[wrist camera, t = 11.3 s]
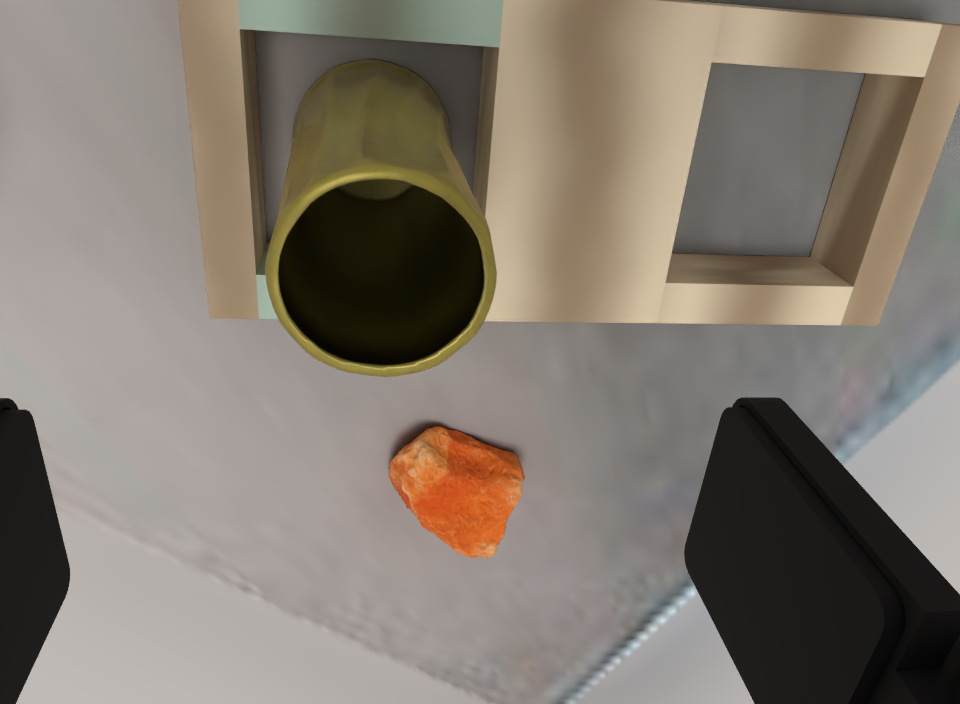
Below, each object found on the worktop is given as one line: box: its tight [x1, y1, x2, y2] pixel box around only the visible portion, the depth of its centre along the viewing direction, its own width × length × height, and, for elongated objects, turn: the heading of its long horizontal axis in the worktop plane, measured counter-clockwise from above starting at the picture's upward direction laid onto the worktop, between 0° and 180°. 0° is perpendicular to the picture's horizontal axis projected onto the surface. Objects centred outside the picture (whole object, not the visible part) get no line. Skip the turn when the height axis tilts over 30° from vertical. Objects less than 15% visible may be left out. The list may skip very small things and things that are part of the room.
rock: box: [389, 427, 525, 558], centre depth 36 cm, size 12×12×4 cm
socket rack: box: [178, 0, 960, 326], centre depth 29 cm, size 28×12×4 cm, turn 85°
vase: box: [265, 60, 497, 377], centre depth 23 cm, size 6×6×14 cm
